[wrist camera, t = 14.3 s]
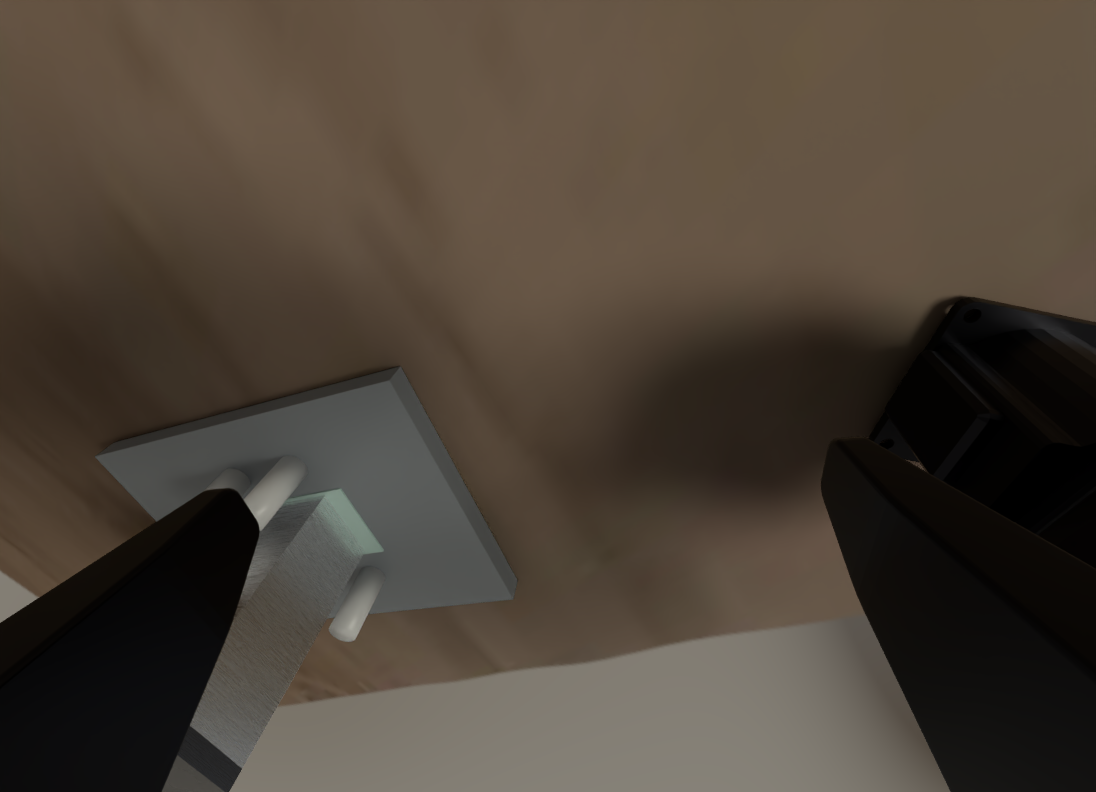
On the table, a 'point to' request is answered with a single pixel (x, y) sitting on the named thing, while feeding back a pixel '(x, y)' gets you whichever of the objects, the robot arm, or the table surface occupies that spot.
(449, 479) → the dock
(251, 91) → the table surface
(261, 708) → the block
